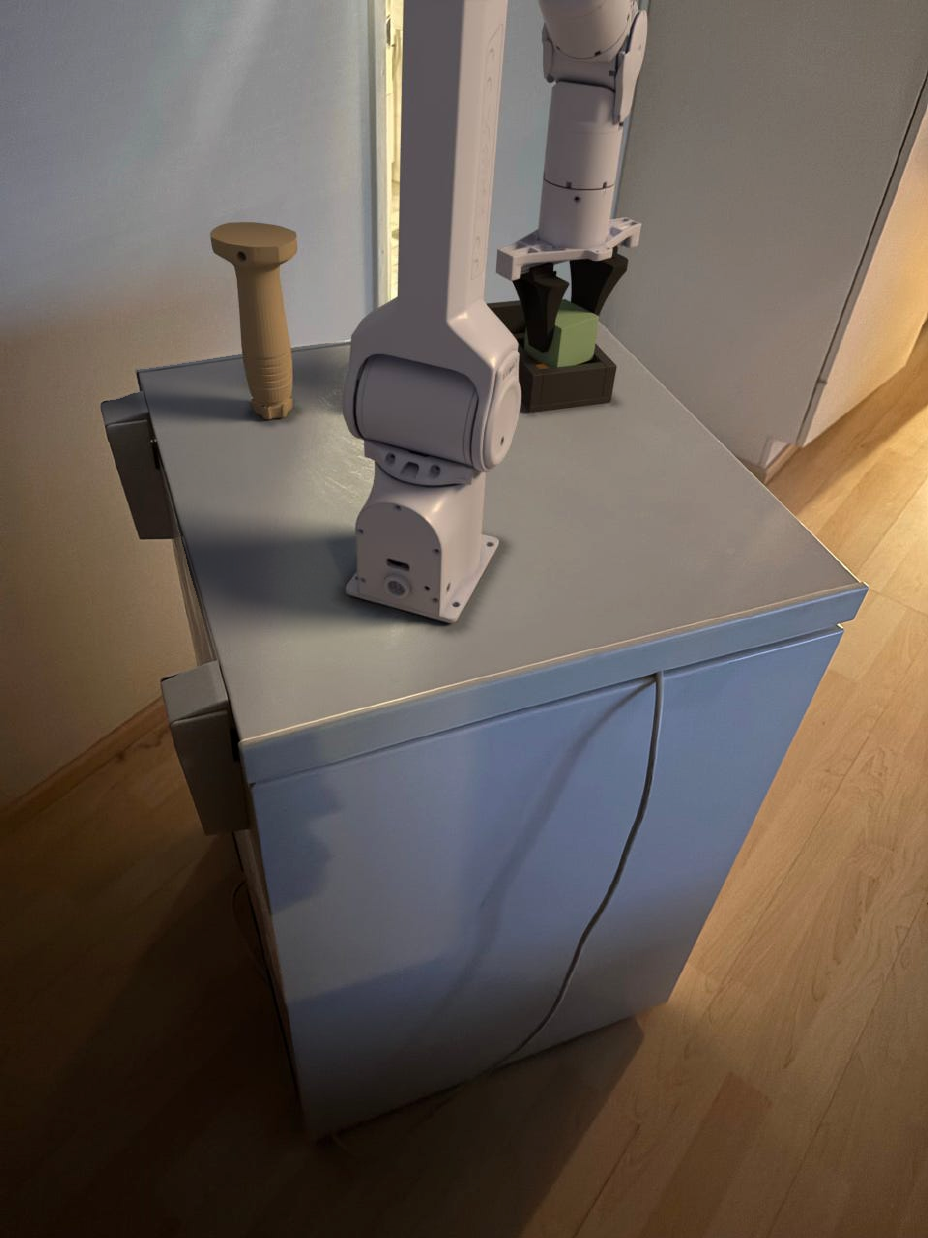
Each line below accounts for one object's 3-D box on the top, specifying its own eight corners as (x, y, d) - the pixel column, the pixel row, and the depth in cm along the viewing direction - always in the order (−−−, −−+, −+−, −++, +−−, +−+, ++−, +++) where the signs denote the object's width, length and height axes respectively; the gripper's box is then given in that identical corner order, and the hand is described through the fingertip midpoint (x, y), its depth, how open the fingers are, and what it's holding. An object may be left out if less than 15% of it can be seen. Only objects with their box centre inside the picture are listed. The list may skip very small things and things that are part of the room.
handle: (298, 431, 75) (281, 251, 65) (227, 419, 76) (199, 239, 66) (318, 404, 78) (305, 228, 68) (250, 393, 79) (227, 218, 69)
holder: (529, 412, 79) (532, 375, 77) (475, 338, 89) (477, 303, 87) (610, 402, 81) (617, 365, 79) (548, 331, 91) (552, 296, 89)
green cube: (593, 359, 80) (599, 316, 78) (556, 372, 78) (561, 328, 76) (559, 340, 83) (564, 298, 80) (523, 352, 81) (527, 309, 78)
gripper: (544, 209, 65) (527, 380, 74) (678, 178, 72) (647, 338, 81) (483, 182, 69) (474, 347, 78) (616, 155, 76) (593, 310, 85)
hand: (559, 340), depth 80 cm, fingers closed on green cube, 4 cm apart
